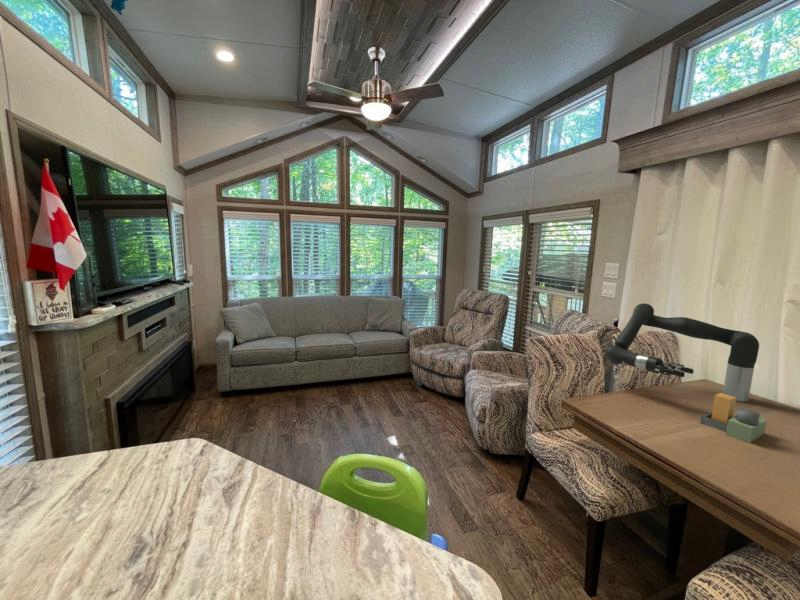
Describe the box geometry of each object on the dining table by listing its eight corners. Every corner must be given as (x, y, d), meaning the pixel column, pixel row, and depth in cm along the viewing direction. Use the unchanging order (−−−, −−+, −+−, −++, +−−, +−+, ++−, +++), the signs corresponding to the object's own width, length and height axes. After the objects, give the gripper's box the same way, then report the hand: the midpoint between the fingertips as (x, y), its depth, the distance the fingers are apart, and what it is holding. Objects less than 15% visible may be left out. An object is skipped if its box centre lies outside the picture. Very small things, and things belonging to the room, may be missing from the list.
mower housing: (739, 425, 141) (743, 403, 139) (764, 433, 134) (768, 410, 133) (725, 433, 134) (728, 410, 133) (749, 443, 128) (754, 418, 126)
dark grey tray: (711, 417, 147) (712, 411, 147) (738, 426, 140) (739, 420, 139) (700, 422, 143) (701, 416, 142) (728, 432, 135) (729, 425, 135)
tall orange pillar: (716, 421, 144) (720, 392, 142) (731, 426, 140) (736, 397, 138) (710, 423, 142) (714, 394, 140) (725, 429, 138) (730, 399, 136)
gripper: (655, 368, 169) (695, 378, 155) (640, 373, 163) (680, 384, 149) (656, 353, 168) (697, 362, 154) (641, 358, 162) (681, 368, 148)
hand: (688, 373), depth 151 cm, fingers open, 8 cm apart
